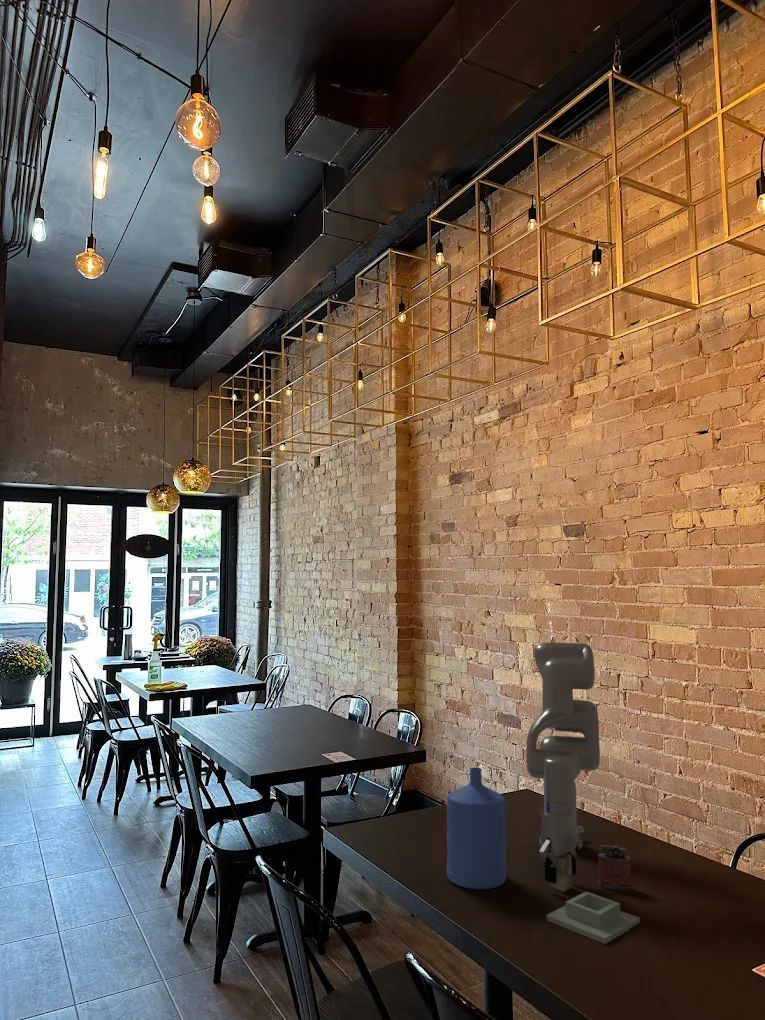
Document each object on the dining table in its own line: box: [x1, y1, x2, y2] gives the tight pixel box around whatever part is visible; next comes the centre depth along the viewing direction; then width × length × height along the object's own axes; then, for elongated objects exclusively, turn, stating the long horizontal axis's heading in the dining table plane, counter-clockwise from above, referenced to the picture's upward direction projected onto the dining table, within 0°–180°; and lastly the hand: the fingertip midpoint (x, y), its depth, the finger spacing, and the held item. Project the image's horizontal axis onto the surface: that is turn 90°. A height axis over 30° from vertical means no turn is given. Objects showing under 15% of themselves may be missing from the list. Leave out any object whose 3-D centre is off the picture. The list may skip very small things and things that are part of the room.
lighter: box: [597, 844, 633, 891], centre depth 184 cm, size 8×3×10 cm, turn 71°
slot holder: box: [546, 891, 641, 945], centre depth 164 cm, size 15×15×4 cm
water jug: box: [446, 767, 507, 890], centre depth 189 cm, size 16×16×28 cm
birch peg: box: [549, 852, 573, 893], centre depth 183 cm, size 4×4×8 cm
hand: (560, 877), depth 183 cm, fingers open, 8 cm apart
